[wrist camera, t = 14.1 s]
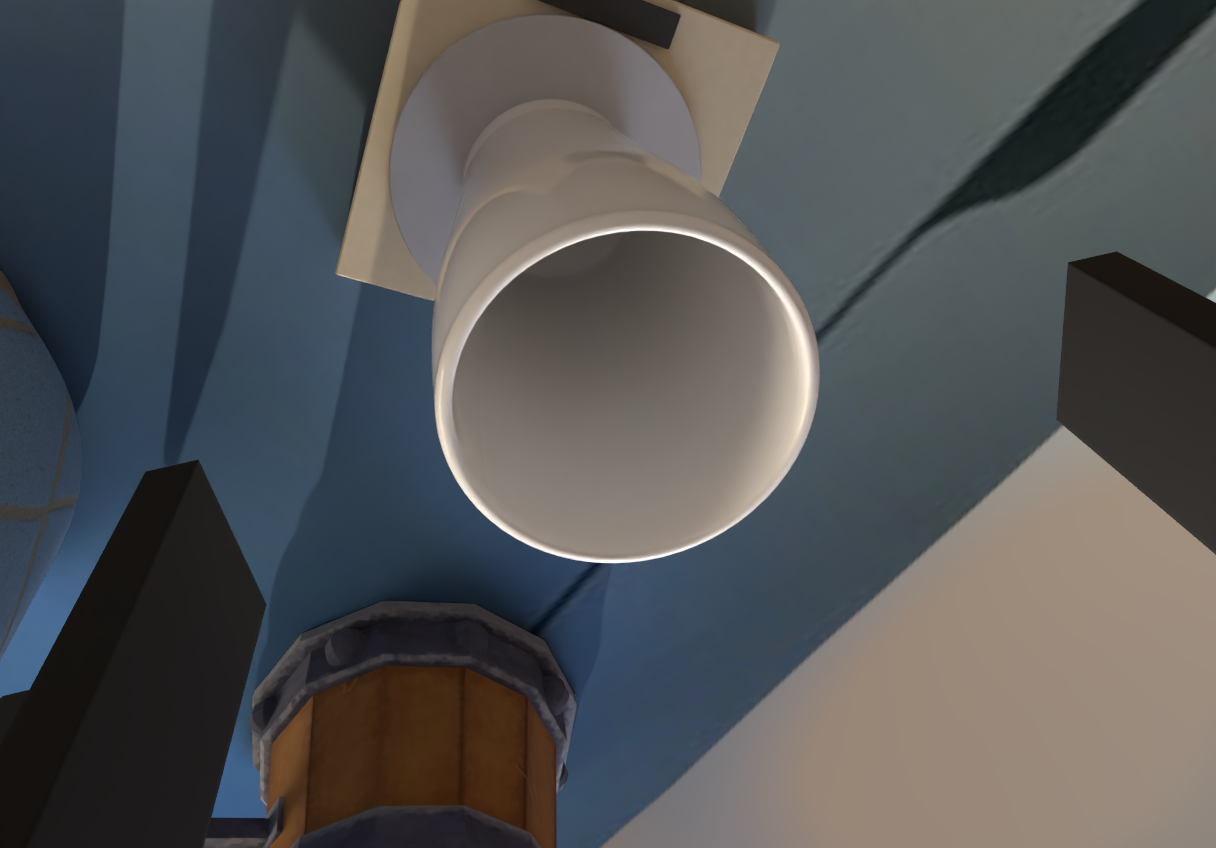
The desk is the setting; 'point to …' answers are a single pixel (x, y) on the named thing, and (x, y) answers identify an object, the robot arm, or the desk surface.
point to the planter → (31, 462)
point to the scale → (525, 71)
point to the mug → (408, 735)
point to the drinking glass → (611, 345)
